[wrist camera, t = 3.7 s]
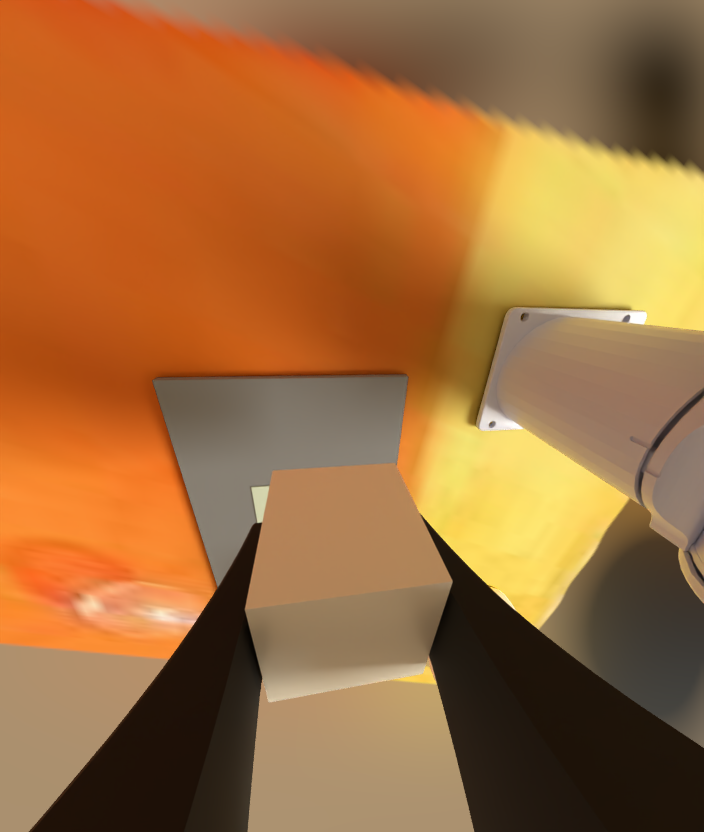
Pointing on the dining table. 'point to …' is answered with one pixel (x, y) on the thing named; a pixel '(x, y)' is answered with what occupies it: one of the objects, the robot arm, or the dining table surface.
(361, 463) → the mat
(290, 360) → the dining table surface
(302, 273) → the dining table surface
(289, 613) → the cream block
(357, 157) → the dining table surface
